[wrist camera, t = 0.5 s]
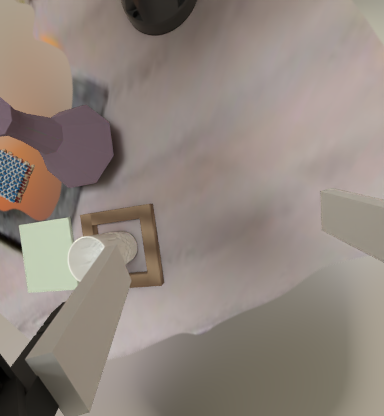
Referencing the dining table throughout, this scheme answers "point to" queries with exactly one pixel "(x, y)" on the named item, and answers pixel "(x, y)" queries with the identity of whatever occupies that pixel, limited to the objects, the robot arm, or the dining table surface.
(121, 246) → the white cup
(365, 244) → the robot arm
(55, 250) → the sage pad
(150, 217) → the brown square frame
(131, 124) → the dining table surface
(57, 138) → the flask
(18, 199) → the woven mat
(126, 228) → the dining table surface
